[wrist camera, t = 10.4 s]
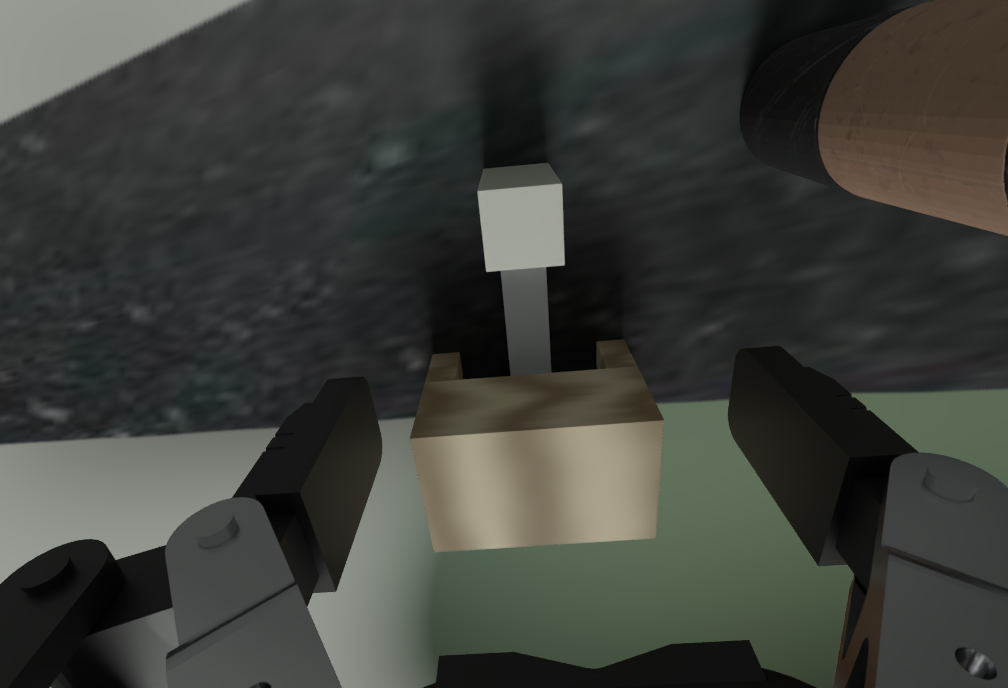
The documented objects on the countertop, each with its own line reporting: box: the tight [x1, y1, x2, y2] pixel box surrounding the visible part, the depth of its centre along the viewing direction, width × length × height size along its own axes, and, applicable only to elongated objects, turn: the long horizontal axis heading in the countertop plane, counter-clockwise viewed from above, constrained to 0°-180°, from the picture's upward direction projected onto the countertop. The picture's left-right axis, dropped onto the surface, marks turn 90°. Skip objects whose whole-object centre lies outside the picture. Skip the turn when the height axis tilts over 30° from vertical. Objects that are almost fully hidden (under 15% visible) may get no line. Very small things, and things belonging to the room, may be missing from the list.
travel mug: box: [740, 0, 1008, 236], centre depth 20 cm, size 8×8×20 cm
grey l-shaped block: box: [477, 163, 565, 376], centre depth 31 cm, size 17×4×8 cm, turn 5°
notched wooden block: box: [410, 339, 664, 552], centre depth 34 cm, size 14×9×10 cm, turn 95°
